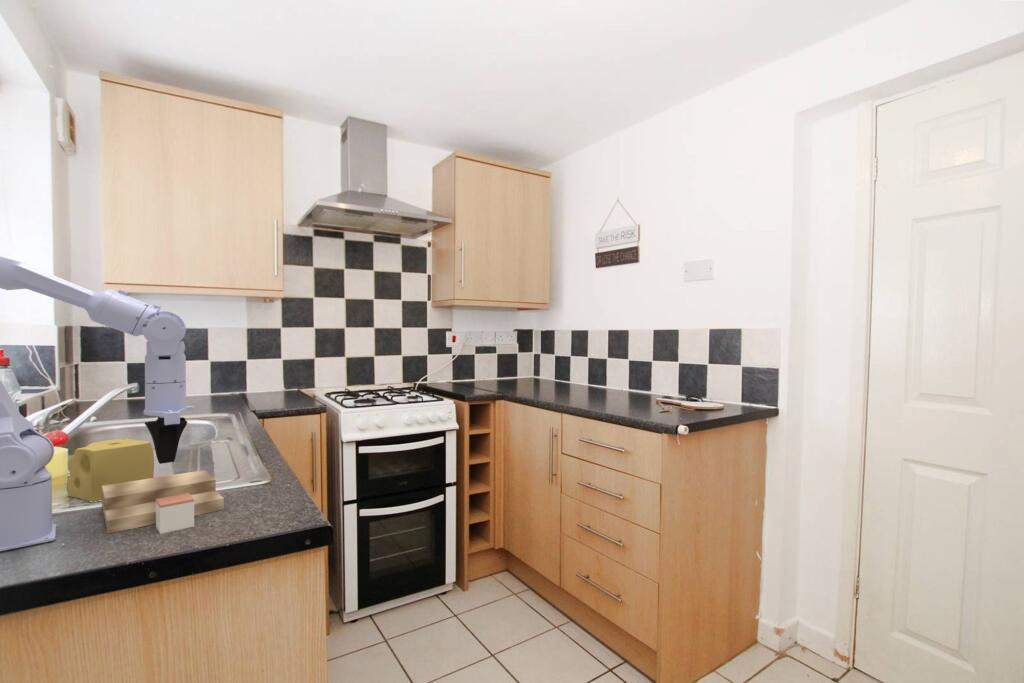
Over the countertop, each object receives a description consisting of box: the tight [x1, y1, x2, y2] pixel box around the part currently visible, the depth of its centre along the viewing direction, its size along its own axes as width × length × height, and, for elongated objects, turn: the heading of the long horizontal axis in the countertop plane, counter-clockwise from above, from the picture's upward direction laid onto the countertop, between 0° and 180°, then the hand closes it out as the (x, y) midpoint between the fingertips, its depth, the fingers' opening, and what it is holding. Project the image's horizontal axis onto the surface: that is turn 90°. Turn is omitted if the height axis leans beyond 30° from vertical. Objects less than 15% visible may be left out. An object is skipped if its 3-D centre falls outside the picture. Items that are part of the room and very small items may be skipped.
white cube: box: [155, 493, 195, 535], centre depth 80 cm, size 4×4×4 cm
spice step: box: [101, 469, 225, 534], centre depth 88 cm, size 16×16×4 cm
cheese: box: [66, 437, 155, 503], centre depth 99 cm, size 10×11×10 cm
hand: (166, 462), depth 84 cm, fingers closed
